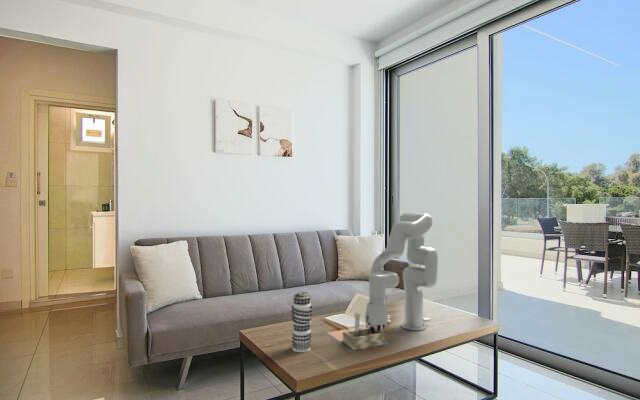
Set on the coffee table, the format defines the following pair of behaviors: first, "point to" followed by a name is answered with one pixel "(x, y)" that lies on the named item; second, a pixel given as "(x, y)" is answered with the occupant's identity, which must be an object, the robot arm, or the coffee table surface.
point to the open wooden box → (363, 338)
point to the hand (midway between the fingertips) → (376, 339)
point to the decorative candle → (301, 322)
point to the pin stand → (338, 335)
